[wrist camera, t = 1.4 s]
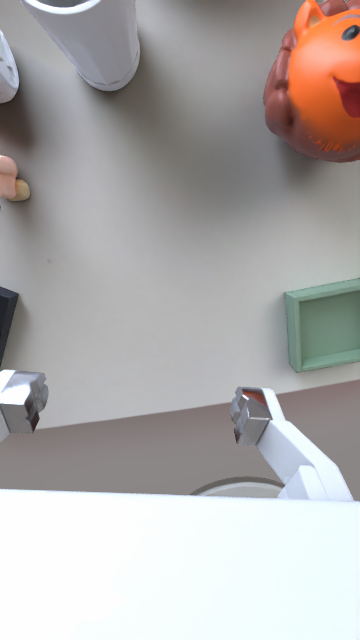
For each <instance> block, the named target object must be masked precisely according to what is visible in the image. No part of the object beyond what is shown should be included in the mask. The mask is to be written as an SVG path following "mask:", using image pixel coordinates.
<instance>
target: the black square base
mask: <svg viewBox="0 0 360 640" xmlns="http://www.w3.org/2000/svg"><path fill="white" fill-rule="evenodd" d="M18 295H19V294H18V293H15V292H13V291H10V290H8V289H5V288H2V287H0V367H1V363H2V359H3V355H4V351H5V347H6V343H7V339H8V335H9V331H10V327H11V323H12V319H13V315H14V311H15V307H16V303H17V299H18Z"/></svg>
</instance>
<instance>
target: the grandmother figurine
mask: <svg viewBox="0 0 360 640" xmlns="http://www.w3.org/2000/svg"><path fill="white" fill-rule="evenodd" d="M17 173H18V169H17V166H16V163H15V162H14V161H13V160H12V159H11V158H9V157H6V156H2V155H0V197H5V198H7V199H8V200H9V201H20V200H26V199H28V198H29V196H30V189H29V187H28V185H27V183H26V182H25V181H23V180H21V179H15V178H16V176H17ZM0 210H1V206H0Z"/></svg>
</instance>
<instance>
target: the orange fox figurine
mask: <svg viewBox="0 0 360 640" xmlns="http://www.w3.org/2000/svg"><path fill="white" fill-rule="evenodd" d="M263 99H264V105H265V107H266V108H265V118H266V124H267V126H268V128H269V129H270V130H271V131H272V132H273V133H275V134H276V135H278V136H280V137H282V138H283V139H284V141H285V142H286V143H287V144H288V145H289V146H290V147H292V148H293V149H294V150H296V151H297V152H299V153H301V154H303V155H305V156H307V157H310V158H314V159H320V160H324V161H329V162H337V163H343V162H352V161H357V160H360V0H349V1H347V2H346V3H345V1H344V0H328V1H326V2H324V3H323V4H321V5H320V6H319V5H318V3H317V2H316V1H314V0H307V1H305V2H304V4H303V5H302V6H301V8H300V10H299V12H298V14H297V17H296V19H295V23H294V28H292V29H291V30H289V31H288V32H287V33H286V34H285V36H284V37H283V40H282V46H281V48H280V51H279V55H278V57H277V60H276V61H275V63H274V64H273V66H272V69H271V71H270V74H269V76H268V79H267V83H266V86H265V90H264V98H263Z"/></svg>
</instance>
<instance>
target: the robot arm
mask: <svg viewBox="0 0 360 640" xmlns="http://www.w3.org/2000/svg"><path fill="white" fill-rule="evenodd" d="M45 380H46V378H45V374H44V373H39V372H28V371H18V370H5V369H4V370H3V371H1V372H0V443H1V442H2V441H3V440H4V439H5V438H6V437H7V436H9V435H10V433H33V432H34V430H35V428H36V425H37V423H38V421H39V419H40V418H39V414H38V413H39V412H41V411H42V410H43V409H44V408H45V406H46V403H47V399H48V386H47V385H45V384H44V382H45ZM235 393H236V397H235V398H233V400H232V403H231V418H232V421H233V422H234V423H235V424H236V426H235V428H234V433H235V437H236V442H237V444H242V445H254V446H256V447H257V449H258V450H259V451H260V453H261V454H262V455H263V457H264V458H265V459H266V460H267V462H268V463H269V464H270V466H271V467H272V468H273V470H274V471H275V472H276V474H277V475H278V476H279V478H280V479H281V480H282V481H283V483H284V484H285V487H284V488H283V489H282V491H281V492H280V493H279V495H278V496H277V498H250V497H221V496H192V495H161V494H133V493H130V494H129V493H103V492H102V493H101V492H71V491H41V490H12V489H0V640H360V501H354V500H353V498H352V496H351V493H350V492H349V489H348V487H347V485H346V483H345V481H344V479H343V477H342V475H341V473H340V471H339V469H338V467H337V465H336V464H334V463H333V462H332V461H331V460H330V459H329V458H328V457H327V456H326V455H325V454H324V453H322V452H321V451H320V450H319V449H318V448H317V447H316V446H315V445H314V444H313V443H312V442H311V441H310V440H309V439H308V438H307V437H305V436H304V435H303V434H302V433H301V432H300V431H299V430H298V429H297V428H296V427H295V426H294V425H293V424H291V423H290V422H289V421H286V420H285V418H284V415H283V413H282V410H281V407H280V405H279V402H278V400H277V398H276V395H275V392H274V390H273V389H267V388H254V387H238V388H237V389H236V392H235Z"/></svg>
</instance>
